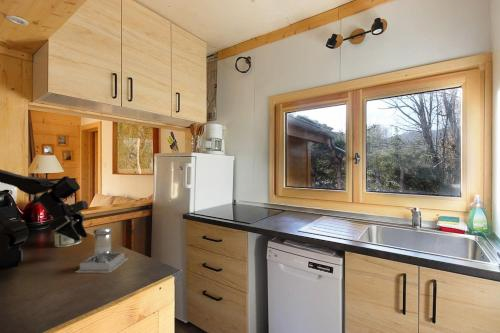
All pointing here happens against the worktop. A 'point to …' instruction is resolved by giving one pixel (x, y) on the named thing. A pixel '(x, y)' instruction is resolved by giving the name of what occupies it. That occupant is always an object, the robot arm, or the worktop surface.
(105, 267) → the collar
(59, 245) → the coffee can
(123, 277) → the worktop surface
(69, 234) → the robot arm
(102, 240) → the lidded steel tumbler
